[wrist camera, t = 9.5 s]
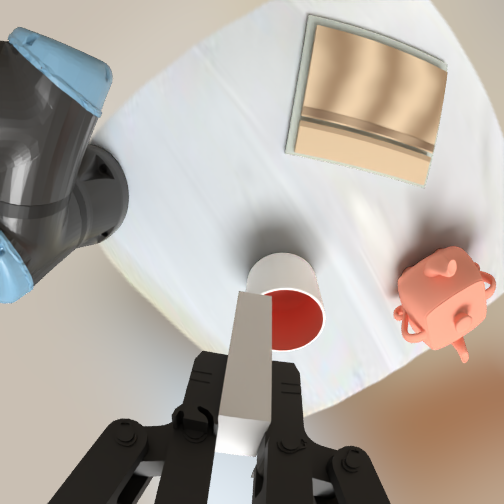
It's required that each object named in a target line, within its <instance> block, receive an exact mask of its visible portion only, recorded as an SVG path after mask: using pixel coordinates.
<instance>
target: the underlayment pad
mask: <svg viewBox="0 0 504 504" xmlns="http://www.w3.org/2000/svg"><path fill="white" fill-rule="evenodd" d="M317 25H320V26H324V27H328V28H332V29H336V30H340V31H344V32H347V33H351V34H354V35H357V36H361V37H364V38H367V39H370V40H373V41H376V42H379V43H382V44H384V45H387V46H390V47H392V48H395V49H398V50H400V51H403V52H405V53H408V54H410V55H412V56H415V57H417V58H419V59H421V60H424V61H426V62H428V63H430V64H432V65H434V66H436V67H438V68H440V69H442V70H444V71H446V72H447V64H446V63H444V62H442V61H440V60H438V59H436V58H434V57H432V56H430V55H428V54H426V53H424V52H422V51H419V50H417V49H415V48H413V47H410V46H408V45H406V44H403V43H401V42H398V41H396V40H393V39H390V38H388V37H385V36H382V35H380V34H377V33H374V32H371V31H368V30H365V29H362V28H358V27H355V26H352V25H348V24H345V23H341V22H338V21H334V20H330V19H326V18H321V17H317V16H312V15H309V16H308V21H307V27H306V33H305V39H304V45H303V51H302V57H301V63H300V69H299V75H298V81H297V87H296V93H295V98H294V104H293V110H292V116H291V121H290V127H289V133H288V138H287V144H286V149H285V154H289V155H294V156H299V157H304V158H309V159H314V160H319V161H323V162H328V163H332V164H337V165H341V166H345V167H350V168H354V169H358V170H362V171H366V172H369V173H373V174H377V175H381V176H384V177H388V178H391V179H395V180H398V181H402V182H405V183H408V184H412V185H415V186H418V187H421V188H424V189H425V186H426V182H427V178H428V174H429V170H430V166H431V162H432V158H433V153H434V150H433V153H429V152H427V151H424V150H421V149H418V148H416V147H413V146H410V145H407V144H404V143H401V142H398V141H395V140H392V139H389V138H386V137H383V136H380V135H376V134H373V133H369V132H366V131H362V130H359V129H355V128H352V127H348V126H344V125H340V124H336V123H332V122H328V121H323V120H319V119H314V118H310V117H305V116H301V111H302V106H303V100H304V94H305V89H306V83H307V77H308V72H309V66H310V60H311V54H312V48H313V42H314V36H315V30H316V26H317ZM442 106H443V105H442ZM441 112H442V111H441ZM440 118H441V116H440ZM439 124H440V121H439ZM438 129H439V126H438ZM437 134H438V131H437ZM436 139H437V136H436ZM435 144H436V140H435ZM435 144H434V145H435ZM434 149H435V146H434Z"/></svg>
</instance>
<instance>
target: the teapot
mask: <svg viewBox="0 0 504 504" xmlns="http://www.w3.org/2000/svg"><path fill="white" fill-rule="evenodd" d="M484 282H487V283H489V284H490V285H491V286H490V287H489V288H488V289H486V290H485V285H484ZM495 288H496V282H495V279H494V277H493V276H492V275H490V274H488V273H486V272H482V271H480V267H479V265H478V264H477V263H475V262H473V260H472V259H471V258H470V256H469V255H468V254H467V253H466V252H465V251H464V250H463V249H462V248H460V247H455V246H450V247H447V248H444V249H443V248H440V249H437V250H436V251H435V253H434V254H432V255H430V256H428V257H426V258H424V259H423V260H421V261H420V262H418V263H417V264H416V265H414V266H413V267H408V268H406V269H405V270H404V271H403V273H402V276H401V277H400V278H399V279H398V292H399V296H400V300H401V303H402V305H401V306H398V307H397V308H396V309H395V310H394V318H395V319H396V320H397V321H400V320H402V327H401V331H402V335H403V338H404V339H405V340H406V341H408V342H410V343H417V342H421V341H423V342H424V343H425V344H427V345H428V346H429V347H430V348H431V349H433V350H437V349H440V348H443V347H445V346H447V345H449V344H452V345H453V346H454V347H455V349H456V350H457V351H458V353H459V355H460V358H461V360H462V362H463V363H466V362H467V361H468V351H467V349H466V345H465V342H464V338H463V336H464V335H466V334H467V333H468V332H470V331H471V330H473V329H474V328H475V327H476V326H478V325H479V324H480V323H481V322H482V321H483V320H484V319H485V317H486V299H488V298H490V297H491V296H492V295H493V293H494V291H495ZM408 321H409V323H410V325H411V327H412V329H413V330H414V331H415V333H416V334H409V333H408V330H407V329H408Z"/></svg>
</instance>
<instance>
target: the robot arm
mask: <svg viewBox="0 0 504 504" xmlns="http://www.w3.org/2000/svg"><path fill="white" fill-rule="evenodd" d="M8 40H9V41H0V303H13V302H15V301H17V300H18V299H20V298H21V297H22V296H24V295H25V294H26V293H28V292H30V291H31V290H32V289H33V286H34V285H35V284H37V283H38V282H39V281H40V280H41V279H42V278H43V277H44V276H45V275H46V274H47V273H49V271H51V270H52V269H53V268H54V267H55V266H56V265H57V264H58V263H60V262H61V261H62V260H63V259H64V258H65V257H67V256H68V255H69V254H70V253H71V252H72V251H74V250H75V249H76V248H80V247H84V246H89V245H93V244H97V243H100V242H102V241H104V240H106V239H107V238H108V237H110V236H111V235H112V234H113V233H114V232H115V231H116V230H117V229H118V228H119V227H120V226H121V224H122V222H123V220H124V218H125V216H126V213H127V208H128V199H129V196H128V187H127V182H126V179H125V176H124V173H123V171H122V169H121V167H120V166H119V164H118V163H117V161H116V160H115V159H114V158H113V157H112V156H111V155H110V154H109V153H108V152H107V151H105V150H104V149H102V148H100V147H97V146H94V145H88V143H89V140H90V137H91V135H92V132H93V130H94V127H95V125H96V122H97V120H98V118H99V117H101V114H102V112H101V109H102V106H103V104H104V101H105V98H106V96H107V94H108V91H109V89H110V86H111V84H112V71H111V69H110V67H109V66H108V65H107V64H106V63H104V62H103V61H101V60H98V59H97V58H94V57H92V56H90V55H88V54H86V53H84V52H82V51H79V50H77V49H75V48H72V47H70V46H68V45H66V44H63V43H61V42H58V41H56V40H54V39H51V38H49V37H46V36H44V35H41V34H38V33H36V32H33V31H30V30H27V29H25V28H22V27H18V28H16V29H14V31H13V32H12V33H11V34H10V35H9V37H8ZM300 385H301V383H300V373H299V371H298V370H297V368H296V366H295V364H294V363H288V362H279V361H272V296H267V295H261V294H254V293H248V292H241V291H239V294H238V300H237V306H236V312H235V318H234V324H233V330H232V336H231V342H230V348H229V354H228V355H224V354H218V353H213V352H207V351H202V352H201V353H200V354H199V355H198V357H196V359H195V361H194V364H193V368H192V372H191V375H190V380H189V383H188V386H187V390H186V394H185V397H184V401H183V404H181V405H180V406H179V407H177V408H176V409H175V410H174V412H173V414H172V422H171V423H169V424H166V425H162V426H142V425H141V424H139V423H138V422H137V421H134V420H131V419H118V420H115V421H113V422H112V423H111V424H109V425H108V427H107V428H106V429H105V430H104V432H103V433H102V434H101V435H100V437H99V438H98V439H97V441H96V442H95V443H94V444H93V446H92V447H91V448H90V449H89V451H88V452H87V453H86V455H85V456H84V457H83V458H82V460H81V461H80V462H79V464H78V465H77V466H76V468H75V469H74V470H73V471H72V473H71V474H70V476H69V477H68V478H67V479H66V480H65V482H64V483H63V484H62V486H61V487H60V488H59V489H58V491H57V492H56V493H55V495H54V496H53V497H52V499H51V500H50V501H49V503H48V504H137V502H138V500H139V499H140V497H141V495H142V494H143V492H144V491H145V489H146V487H147V486H148V484H149V483H150V481H151V479H152V478H153V476H161V478H160V482H159V486H158V491H157V495H156V499H155V503H154V504H207V500H208V493H209V487H210V480H211V473H212V466H213V459H214V453H215V452H221V453H228V454H235V455H243V456H253V457H256V455H257V464H256V466H255V468H254V470H253V473H252V475H251V477H252V478H254V481H253V496H252V504H390V501H389V499H388V497H387V495H386V493H385V491H384V488H383V486H382V484H381V482H380V480H379V477H378V475H377V473H376V471H375V469H374V466H373V464H372V462H371V460H370V458H369V456H368V455H367V453H366V452H365V451H363V450H362V449H360V448H358V447H354V446H345V447H343V448H341V449H339V450H334V449H331V448H327V447H324V446H321V445H318V444H316V443H314V442H313V441H312V440H311V439H310V438H309V437H308V436H307V434H306V432H305V430H304V423H303V408H302V395H301V386H300Z"/></svg>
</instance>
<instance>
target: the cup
mask: <svg viewBox="0 0 504 504" xmlns="http://www.w3.org/2000/svg"><path fill="white" fill-rule="evenodd" d="M246 292H248V293H254V294H261V295H267V296H272V351H277V352H287V351H294V350H297V349H300V348H303V347H305V346H307V345H309V344H310V343H312V342H313V341H314V340H315V339H316V338H317V337H318V336H319V335H320V333H321V332H322V330H323V328H324V325H325V320H326V315H325V310H324V306H323V302H322V298H321V294H320V290H319V286H318V282H317V279H316V275H315V272H314V270H313V268H312V267H311V266H310V264H309V263H308V262H307V261H306V260H304V259H303V258H301V257H299V256H297V255H295V254H291V253H274V254H270V255H268V256H266V257H264V258H262V259H260V260H259V261H258V262H257V263H256V264H255V265H254V266H253V267H252V269H251V270H250V273H249V275H248V278H247V285H246Z"/></svg>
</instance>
